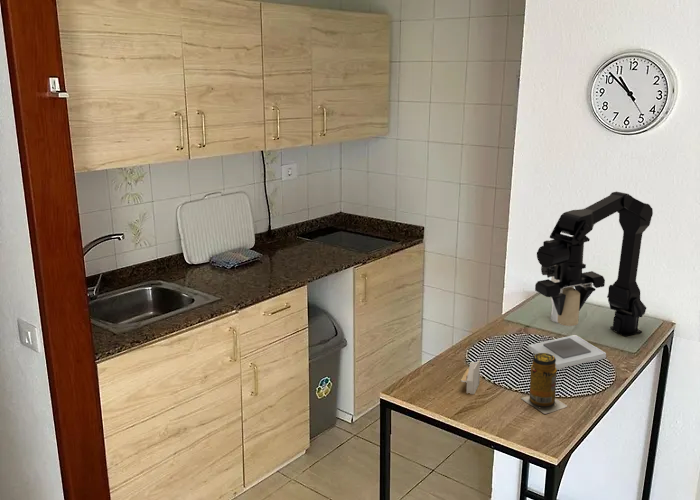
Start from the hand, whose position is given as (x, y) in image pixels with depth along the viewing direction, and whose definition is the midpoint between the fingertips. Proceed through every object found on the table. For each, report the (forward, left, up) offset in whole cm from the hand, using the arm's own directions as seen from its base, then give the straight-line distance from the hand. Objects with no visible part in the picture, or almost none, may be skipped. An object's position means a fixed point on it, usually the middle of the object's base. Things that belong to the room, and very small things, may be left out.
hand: (568, 312), depth 179 cm
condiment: (+21, +19, -13) cm, 31 cm away
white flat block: (0, 0, -12) cm, 12 cm away
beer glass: (-13, -20, -13) cm, 27 cm away
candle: (0, 0, -3) cm, 3 cm away
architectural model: (+33, +6, -13) cm, 36 cm away
